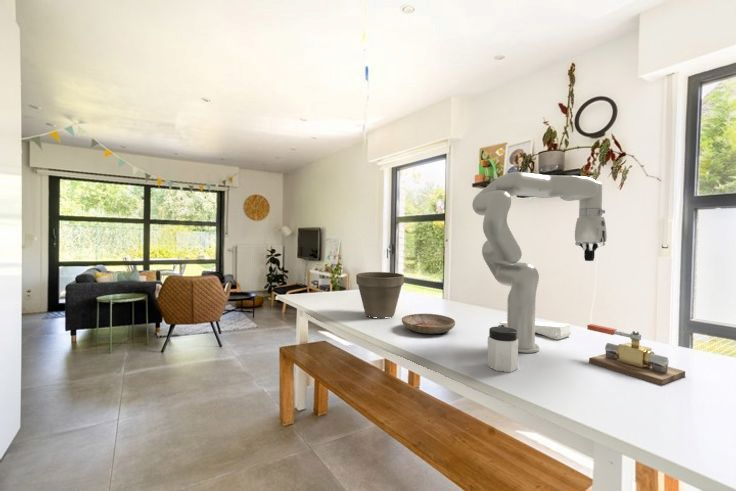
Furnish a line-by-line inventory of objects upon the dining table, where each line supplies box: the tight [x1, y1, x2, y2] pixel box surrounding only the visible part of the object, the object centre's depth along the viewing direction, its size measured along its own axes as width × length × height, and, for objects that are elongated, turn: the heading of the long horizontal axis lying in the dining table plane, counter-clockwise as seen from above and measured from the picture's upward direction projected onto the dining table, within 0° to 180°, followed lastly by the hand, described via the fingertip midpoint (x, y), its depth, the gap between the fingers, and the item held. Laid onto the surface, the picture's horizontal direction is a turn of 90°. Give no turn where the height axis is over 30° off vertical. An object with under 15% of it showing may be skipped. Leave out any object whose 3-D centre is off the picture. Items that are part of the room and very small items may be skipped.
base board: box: [588, 353, 686, 386], centre depth 112 cm, size 14×20×2 cm
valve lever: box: [586, 323, 642, 341], centre depth 117 cm, size 15×3×2 cm, turn 29°
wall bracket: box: [498, 320, 572, 340], centre depth 157 cm, size 10×7×28 cm
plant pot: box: [355, 271, 405, 318], centre depth 185 cm, size 25×25×22 cm
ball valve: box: [604, 339, 669, 374], centre depth 112 cm, size 5×16×8 cm, turn 28°
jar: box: [486, 326, 519, 373], centre depth 112 cm, size 9×8×12 cm
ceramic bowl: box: [401, 313, 456, 335], centre depth 157 cm, size 23×24×5 cm
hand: (589, 260), depth 140 cm, fingers closed
